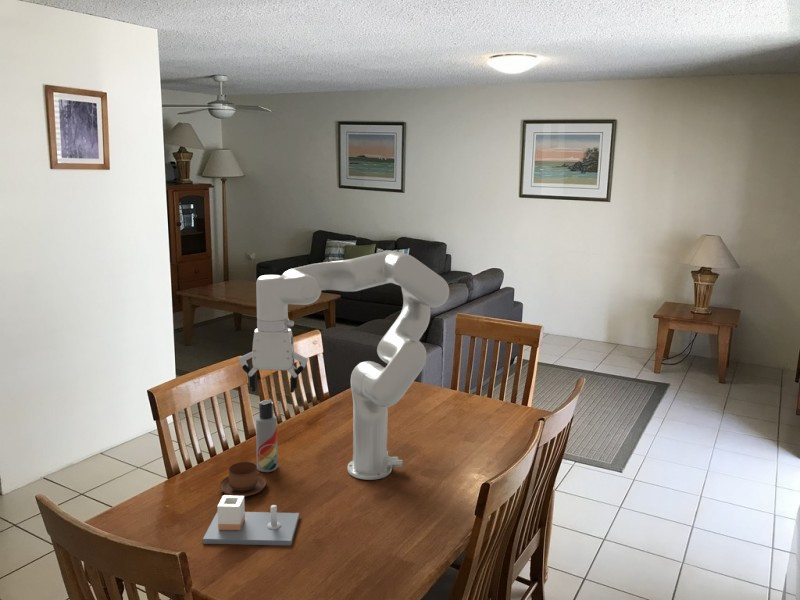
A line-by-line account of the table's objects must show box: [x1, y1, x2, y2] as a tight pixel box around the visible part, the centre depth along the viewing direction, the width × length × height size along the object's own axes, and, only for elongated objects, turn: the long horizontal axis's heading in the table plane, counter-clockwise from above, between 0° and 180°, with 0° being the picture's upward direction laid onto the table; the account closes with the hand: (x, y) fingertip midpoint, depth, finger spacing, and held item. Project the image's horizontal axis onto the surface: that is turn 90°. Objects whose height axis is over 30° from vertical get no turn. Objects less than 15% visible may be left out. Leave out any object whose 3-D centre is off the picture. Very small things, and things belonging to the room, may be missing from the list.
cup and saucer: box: [219, 461, 268, 497], centre depth 174 cm, size 12×12×6 cm
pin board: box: [202, 504, 300, 546], centre depth 155 cm, size 20×12×6 cm, turn 90°
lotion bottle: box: [255, 399, 278, 473], centre depth 185 cm, size 6×6×20 cm
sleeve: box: [216, 494, 246, 530], centre depth 155 cm, size 5×5×6 cm
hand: (273, 390), depth 167 cm, fingers open, 9 cm apart
